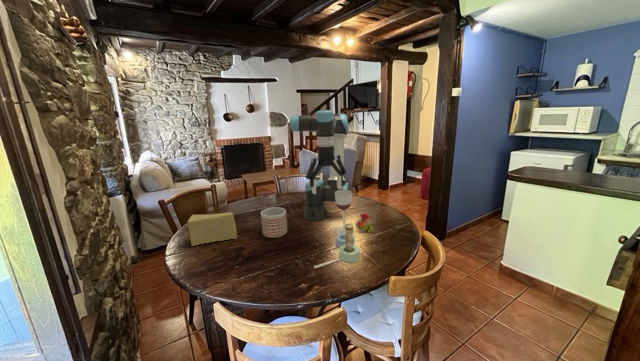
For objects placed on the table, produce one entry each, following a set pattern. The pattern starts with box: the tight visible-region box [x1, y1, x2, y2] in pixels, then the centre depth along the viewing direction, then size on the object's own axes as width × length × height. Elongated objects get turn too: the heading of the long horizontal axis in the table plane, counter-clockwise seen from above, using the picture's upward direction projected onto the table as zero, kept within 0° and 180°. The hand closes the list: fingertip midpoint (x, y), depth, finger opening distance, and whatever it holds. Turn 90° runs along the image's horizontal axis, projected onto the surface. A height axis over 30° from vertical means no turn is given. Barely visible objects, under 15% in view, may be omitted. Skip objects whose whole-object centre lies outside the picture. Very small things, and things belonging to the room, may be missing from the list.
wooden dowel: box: [345, 223, 354, 252], centre depth 120 cm, size 4×4×16 cm
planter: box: [260, 206, 288, 239], centre depth 148 cm, size 14×14×13 cm
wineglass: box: [335, 189, 353, 235], centre depth 144 cm, size 9×10×23 cm
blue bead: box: [335, 233, 356, 249], centre depth 133 cm, size 9×9×4 cm
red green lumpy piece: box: [355, 213, 373, 233], centre depth 146 cm, size 6×11×9 cm
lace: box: [313, 258, 341, 270], centre depth 116 cm, size 1×13×1 cm, turn 117°
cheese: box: [187, 212, 238, 247], centre depth 140 cm, size 22×10×15 cm, turn 101°
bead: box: [338, 245, 360, 264], centre depth 121 cm, size 9×9×4 cm
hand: (326, 190), depth 125 cm, fingers open, 13 cm apart
